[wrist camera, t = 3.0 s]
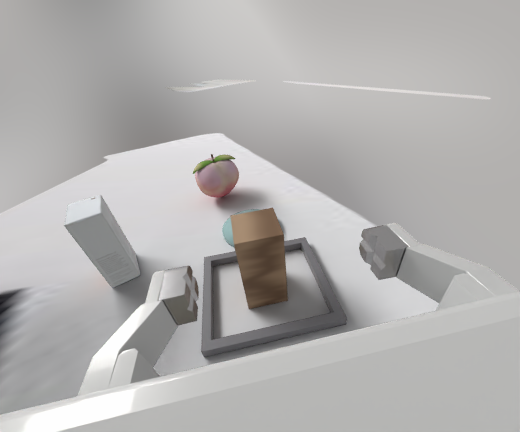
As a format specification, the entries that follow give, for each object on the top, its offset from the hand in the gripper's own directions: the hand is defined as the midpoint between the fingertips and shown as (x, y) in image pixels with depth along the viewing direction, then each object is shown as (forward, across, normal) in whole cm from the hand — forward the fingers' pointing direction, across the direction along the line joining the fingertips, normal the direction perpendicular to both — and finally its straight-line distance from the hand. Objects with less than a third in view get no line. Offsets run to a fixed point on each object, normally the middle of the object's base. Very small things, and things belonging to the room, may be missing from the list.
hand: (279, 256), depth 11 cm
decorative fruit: (+39, +5, +18) cm, 44 cm away
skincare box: (+21, +21, +18) cm, 35 cm away
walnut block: (+12, 0, +18) cm, 22 cm away
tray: (+12, 0, +18) cm, 22 cm away
